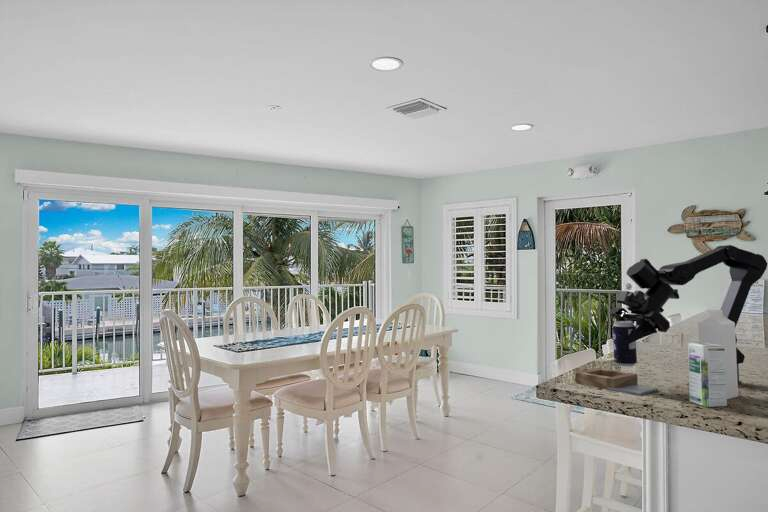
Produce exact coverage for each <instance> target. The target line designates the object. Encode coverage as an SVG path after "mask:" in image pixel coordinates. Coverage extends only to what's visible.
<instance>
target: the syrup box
mask: <svg viewBox="0 0 768 512" xmlns="http://www.w3.org/2000/svg"><path fill="white" fill-rule="evenodd" d="M687 345H688V346H687V347H688V348H687V350H688V351H687V352H688V353H687V354H688V380H689V381H688V383H689V386H688V387H689V402H690V403H694V404H697V405H700V406H702V407H704V408H711V407H715V408H716V407H717V408H718V407H727V406H728V402H727V401H728V399H727V392H726V364H725V346H720V345H715V344H709V343H699V342H689V343H688V344H687Z"/></svg>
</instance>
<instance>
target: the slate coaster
mask: <svg viewBox="0 0 768 512" xmlns="http://www.w3.org/2000/svg"><path fill="white" fill-rule="evenodd" d="M607 390H609V391H614V392H620V393H624V394H630V395H634V394H635V396H639V395H640V396H643V395H646V393H647V394H650V392H651V393H654V392H653V391H655V392H657V391H656V390H658V388H657V387H651V386H650V387H649V386H647V385H646V386H645V385H641V384H640V385H639V384H637V385H634V384H628V385H624V386H620V387H616V388H611V387H608V389H607ZM642 394H643V395H642Z"/></svg>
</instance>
